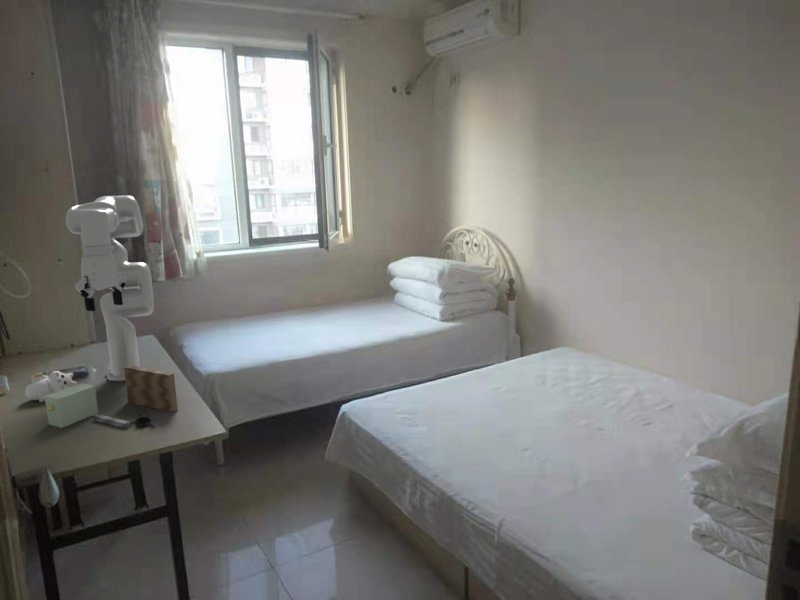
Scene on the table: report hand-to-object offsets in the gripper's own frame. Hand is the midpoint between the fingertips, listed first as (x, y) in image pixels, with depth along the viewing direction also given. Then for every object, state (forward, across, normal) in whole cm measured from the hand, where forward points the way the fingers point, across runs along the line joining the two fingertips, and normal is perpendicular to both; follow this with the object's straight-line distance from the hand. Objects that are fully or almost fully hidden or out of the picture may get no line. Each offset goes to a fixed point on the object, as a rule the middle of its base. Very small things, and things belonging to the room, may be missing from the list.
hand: (104, 307), depth 177 cm
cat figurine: (+33, 0, -31) cm, 45 cm away
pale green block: (+33, +10, -7) cm, 35 cm away
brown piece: (+33, +1, +7) cm, 34 cm away
